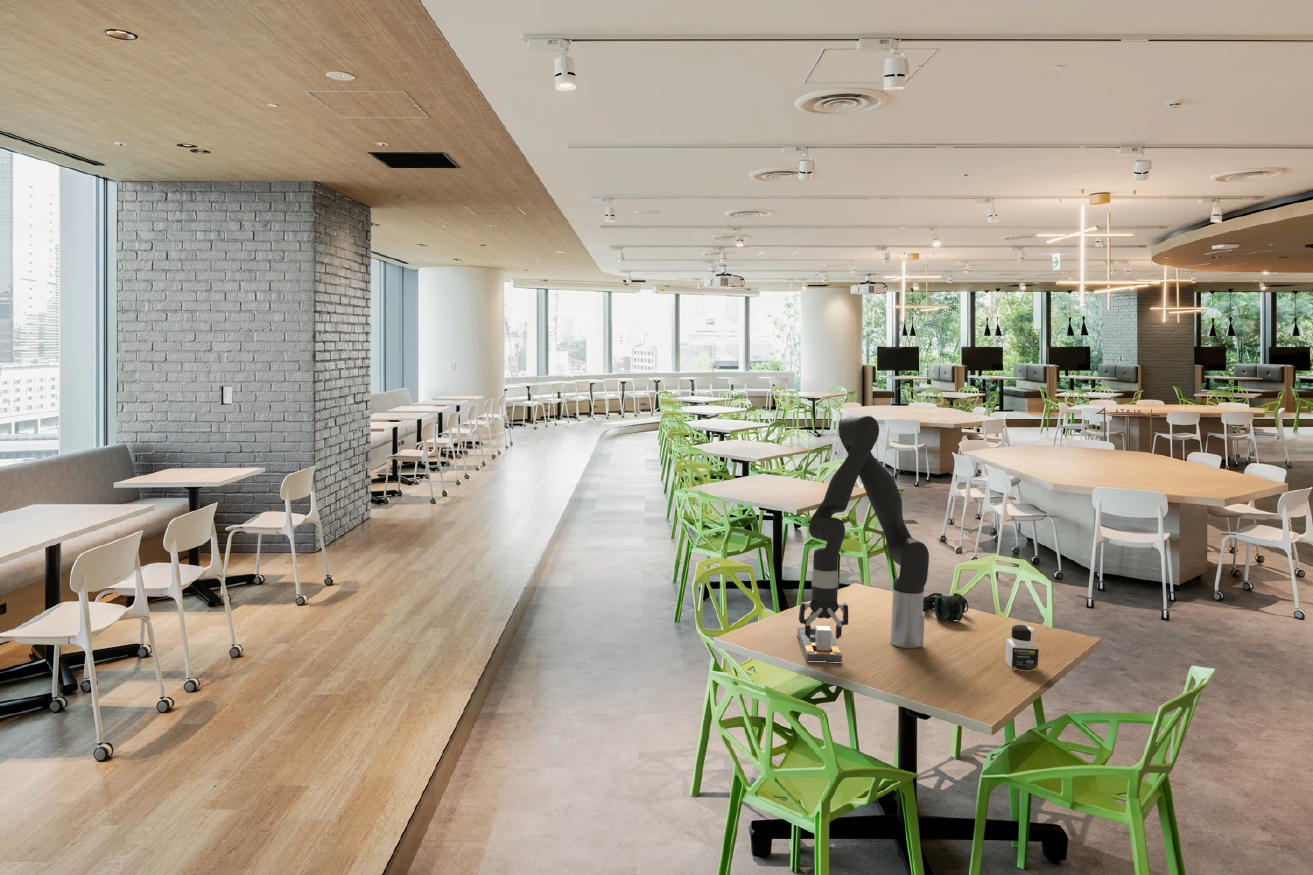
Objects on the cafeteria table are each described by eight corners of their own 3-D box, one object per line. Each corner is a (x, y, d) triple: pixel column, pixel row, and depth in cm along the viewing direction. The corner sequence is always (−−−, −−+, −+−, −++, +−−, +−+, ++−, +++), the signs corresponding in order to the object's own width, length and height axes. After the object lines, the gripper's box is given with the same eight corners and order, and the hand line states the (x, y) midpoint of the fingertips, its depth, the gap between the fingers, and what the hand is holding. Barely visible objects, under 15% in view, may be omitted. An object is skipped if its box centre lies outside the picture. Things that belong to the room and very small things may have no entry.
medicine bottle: (1011, 670, 244) (1013, 629, 243) (1004, 661, 251) (1007, 622, 250) (1037, 672, 243) (1040, 631, 242) (1030, 663, 250) (1032, 623, 249)
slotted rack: (828, 635, 272) (829, 627, 272) (841, 663, 247) (841, 654, 247) (797, 634, 273) (797, 626, 273) (806, 662, 248) (807, 653, 248)
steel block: (828, 655, 254) (829, 626, 253) (830, 660, 250) (831, 630, 249) (814, 655, 254) (815, 625, 254) (816, 659, 250) (817, 629, 250)
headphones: (984, 608, 285) (959, 601, 305) (956, 580, 285) (933, 574, 305) (957, 637, 284) (934, 628, 304) (929, 609, 284) (908, 601, 304)
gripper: (847, 581, 253) (845, 634, 255) (798, 579, 254) (797, 632, 256) (851, 587, 246) (849, 642, 248) (801, 586, 247) (799, 641, 248)
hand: (822, 637), depth 252 cm, fingers open, 8 cm apart
